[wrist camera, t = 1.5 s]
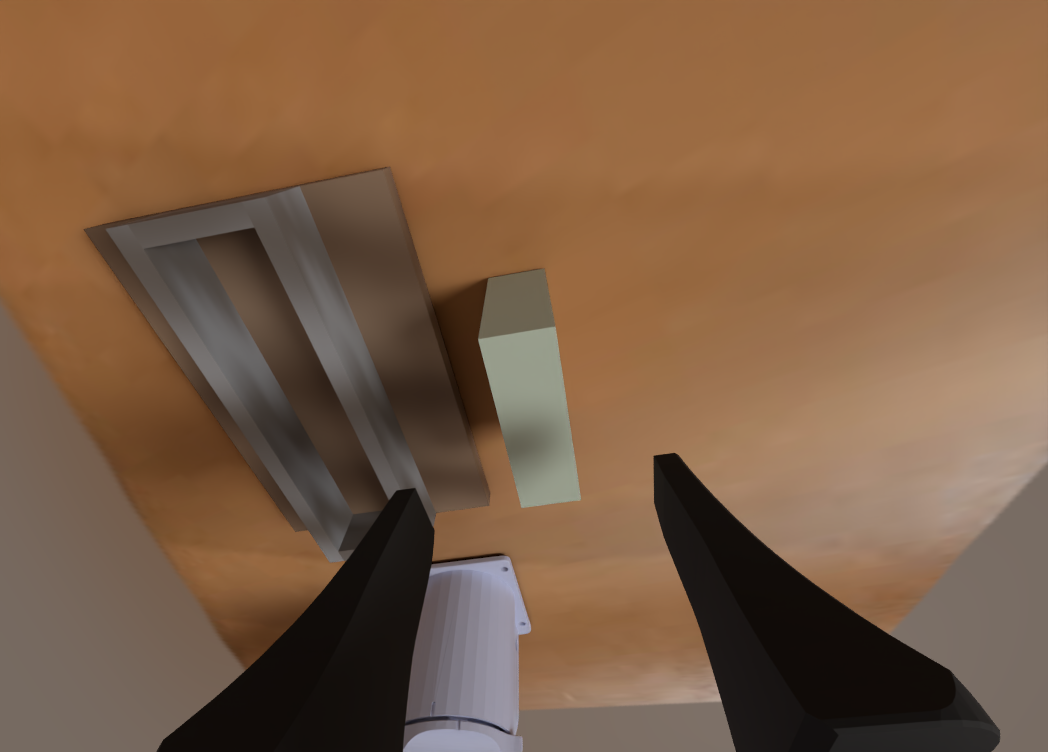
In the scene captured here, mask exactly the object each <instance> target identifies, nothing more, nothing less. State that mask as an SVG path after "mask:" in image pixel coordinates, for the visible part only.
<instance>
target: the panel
mask: <svg viewBox="0 0 1048 752" xmlns="http://www.w3.org/2000/svg"><path fill="white" fill-rule="evenodd" d="M478 341H479V345H480V349H481V352H482V356H483V360H484V364H485V368H486V372H487V376H488V379H489V383H490V387H491V391H492V395H493V399H494V403H495V407H496V410H497V414H498V418H499V422H500V426H501V430H502V434H503V438H504V441H505V445H506V449H507V453H508V457H509V461H510V465H511V468H512V472H513V476H514V480H515V484H516V488H517V492H518V496H519V499H520V503H521V507H522V508H525V507H532V506H539V505H547V504H554V503H562V502H569V501H577V500H581V496H580V489H579V483H578V476H577V469H576V462H575V456H574V449H573V442H572V435H571V429H570V422H569V415H568V409H567V402H566V395H565V388H564V382H563V375H562V368H561V361H560V355H559V348H558V341H557V335H556V328H555V322H554V317H553V312H552V306H551V301H550V296H549V291H548V285H547V280H546V275H545V270H544V269H538V270H532V271H527V272H521V273H515V274H510V275H504V276H498V277H493V278H488V283H487V289H486V295H485V301H484V307H483V313H482V319H481V325H480V331H479V337H478Z"/></svg>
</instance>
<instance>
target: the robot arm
mask: <svg viewBox="0 0 1048 752" xmlns="http://www.w3.org/2000/svg"><path fill="white" fill-rule="evenodd" d="M654 504H655V508H656V511H657V515H658V519H659V522H660V526H661V529H662V533H663V536H664V539H665V541H666V544H667V546H668V549H669V551H670V554H671V556H672V559H673V561H674V564H675V566H676V569H677V571H678V574H679V576H680V579H681V581H682V584H683V586H684V589H685V591H686V593H687V596H688V598H689V601H690V603H691V606H692V608H693V611H694V613H695V616H696V619H697V622H698V625H699V627H700V630H701V634H702V637H703V640H704V643H705V647H706V650H707V653H708V656H709V660H710V663H711V666H712V670H713V673H714V676H715V680H716V683H717V687H718V690H719V693H720V697H721V700H722V704H723V707H724V711H725V714H726V717H727V721H728V724H729V728H730V732H731V735H732V739H733V743H734V746H735V749H736V752H991V751H992V750H994V749H995V747H996V746H997V745H998V744H999V742H1000V730H999V729H998V727H997V726H996V725H995V723H994V722H993V721H992V720H991V718H990V717H989V716H988V715H987V713H986V712H985V711H984V709H983V708H982V707H981V705H980V704H979V703H978V702H977V700H976V699H975V698H974V697H973V696H972V694H971V693H970V692H969V691H968V690H967V689H966V688H965V687H964V685H963V684H962V683H961V682H960V681H959V680H958V679H957V678H956V677H955V676H954V674H953V673H952V672H951V671H950V670H949V669H947V668H945V667H943V666H942V665H940V664H938V663H937V662H935V661H933V660H931V659H930V658H928V657H926V656H924V655H923V654H921V653H919V652H918V651H916V650H914V649H913V648H911V647H909V646H907V645H906V644H904V643H902V642H901V641H899V640H897V639H896V638H894V637H892V636H891V635H889V634H888V633H886V632H884V631H883V630H881V629H880V628H878V627H877V626H875V625H874V624H872V623H870V622H869V621H867V620H866V619H864V618H863V617H861V616H860V615H858V614H857V613H855V612H854V611H852V610H851V609H849V608H848V607H847V606H845V605H844V604H842V603H841V602H839V601H838V600H837V599H835V598H834V597H832V596H831V595H829V594H828V593H827V592H825V591H824V590H822V589H821V588H819V587H818V586H817V585H815V584H814V583H812V582H811V581H810V580H808V579H807V578H806V577H805V576H803V575H802V574H801V573H799V572H798V571H797V570H795V569H794V568H793V567H792V566H790V565H789V564H788V563H787V562H785V561H784V560H783V559H782V558H780V557H779V556H778V555H777V554H775V553H774V552H773V551H772V550H771V549H770V548H768V547H767V546H766V545H765V544H764V543H763V542H761V541H760V540H759V539H758V538H757V537H756V536H755V535H754V534H752V533H751V532H750V531H749V530H748V529H747V528H746V527H745V526H744V525H743V524H742V523H741V522H739V521H738V520H737V519H736V518H735V517H734V516H733V515H732V514H731V513H730V512H729V511H728V510H727V509H726V508H725V507H724V506H723V505H722V504H721V503H720V502H719V501H718V500H717V499H716V498H715V497H714V496H713V494H712V493H711V492H710V491H709V490H708V489H707V488H706V487H705V486H704V485H703V484H702V482H701V481H700V480H699V479H698V478H697V477H696V476H695V475H694V473H693V472H692V471H691V470H690V469H689V468H688V466H687V465H686V464H685V463H684V462H683V460H682V459H681V458H680V457H679V455H677V454H676V453H670V454H663V455H655V456H654ZM434 532H435V530H434V528H433V526H432V523H431V521H430V519H429V517H428V515H427V512H426V510H425V508H424V506H423V504H422V501H421V499H420V497H419V495H418V492H417V490H416V488H410V489H403V490H396V492H395V493H394V494H393V496H392V497H391V498H390V500H389V501H388V503H387V504H386V506H385V507H384V509H383V510H382V511H381V513H380V514H379V516H378V517H377V519H376V520H375V522H374V523H373V525H372V526H371V527H370V529H369V530H368V532H367V533H366V535H365V536H364V537H363V539H362V540H361V542H360V543H359V544H358V546H357V547H356V548H355V550H354V551H353V553H352V554H351V555H350V557H349V558H348V559H347V561H346V562H345V563H344V565H343V566H342V567H341V568H340V570H339V571H338V572H337V573H336V575H335V576H334V577H333V579H332V580H331V581H330V582H329V584H328V585H327V586H326V587H325V589H324V590H323V591H322V592H321V593H320V595H319V596H318V597H317V598H316V599H315V600H314V602H313V603H312V604H311V605H310V606H309V607H308V608H307V609H306V611H305V612H304V613H303V614H302V615H301V616H300V617H299V618H298V619H297V620H296V621H295V623H294V624H293V625H292V626H291V627H290V628H289V629H288V630H287V631H286V632H285V633H284V634H283V635H282V636H281V637H280V638H279V639H278V640H277V641H276V642H275V643H274V644H273V645H272V646H271V647H270V648H269V649H268V650H267V651H266V652H265V653H264V654H263V655H262V656H261V657H260V658H259V659H258V660H256V661H255V662H254V663H253V664H252V665H251V666H250V667H249V668H248V669H247V670H246V671H245V672H244V673H242V674H241V675H240V676H239V677H238V678H237V679H236V680H235V681H234V682H233V683H231V684H230V685H229V686H228V687H227V688H226V689H225V690H223V691H222V692H221V693H220V694H219V695H218V696H217V697H215V698H214V699H213V700H212V701H211V702H209V703H208V704H207V705H206V706H204V707H203V708H202V709H201V710H200V711H198V712H197V713H196V714H195V715H194V716H192V717H191V718H190V719H189V720H187V721H186V722H185V723H184V724H182V725H181V726H180V727H179V728H178V729H176V730H175V731H174V732H173V733H171V734H170V735H169V736H168V737H166V738H165V739H164V740H163V741H162V743H161V745H160V746H159V748H158V750H157V752H523V751H522V736H517V735H515V734H516V731H517V727H518V720H519V640H518V635H519V634H527V633H529V632H530V631H531V625H530V621H529V618H528V615H527V612H526V608H525V605H524V602H523V599H522V595H521V592H520V589H519V586H518V582H517V579H516V576H515V573H514V569H513V566H512V563H511V560H510V558H509V557H507V556H495V557H486V558H478V559H470V560H462V561H454V562H446V563H438V564H432V556H433V546H434Z"/></svg>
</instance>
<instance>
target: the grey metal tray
mask: <svg viewBox="0 0 1048 752" xmlns="http://www.w3.org/2000/svg"><path fill="white" fill-rule="evenodd" d="M84 231H85V232H86V234H87V235H88V236H89V238H90V239H91V241H92V242H93V244H94V245H95V246H96V248H97V249H98V251H99V252H100V254H101V255H102V256H103V258H104V259H105V261H106V262H107V263H108V265H109V266H110V268H111V269H112V271H113V272H114V273H115V275H116V276H117V278H118V279H119V281H120V282H121V283H122V285H123V286H124V288H125V289H126V291H127V292H128V293H129V295H130V296H131V298H132V299H133V301H134V302H135V303H136V305H137V306H138V308H139V309H140V311H141V312H142V313H143V315H144V316H145V318H146V319H147V321H148V322H149V323H150V325H151V326H152V328H153V329H154V331H155V332H156V333H157V335H158V336H159V338H160V339H161V341H162V342H163V343H164V345H165V346H166V348H167V349H168V351H169V352H170V353H171V355H172V356H173V358H174V359H175V361H176V362H177V363H178V365H179V366H180V368H181V369H182V371H183V372H184V373H185V375H186V376H187V378H188V379H189V381H190V382H191V383H192V385H193V386H194V388H195V389H196V391H197V392H198V393H199V395H200V396H201V398H202V399H203V401H204V402H205V403H206V405H207V406H208V408H209V409H210V411H211V412H212V413H213V415H214V416H215V418H216V419H217V421H218V422H219V423H220V425H221V426H222V428H223V429H224V431H225V432H226V433H227V435H228V436H229V438H230V439H231V441H232V442H233V443H234V445H235V446H236V448H237V449H238V451H239V452H240V453H241V455H242V456H243V458H244V459H245V461H246V462H247V463H248V465H249V466H250V468H251V469H252V471H253V472H254V473H255V475H256V476H257V478H258V479H259V481H260V482H261V483H262V485H263V486H264V488H265V489H266V491H267V492H268V493H269V495H270V496H271V498H272V499H273V501H274V502H275V503H276V505H277V506H278V508H279V509H280V511H281V512H282V513H283V515H284V516H285V518H286V519H287V521H288V522H289V523H290V525H291V526H292V528H293V529H294V531H295V532H297V531H305V530H308V531H309V532H310V534H311V535H312V536H313V538H314V539H315V541H316V542H317V544H318V545H319V547H320V548H321V550H322V551H323V553H324V554H325V556H326V557H327V559H328V560H329V562H338V561H346V560H347V559H348V558H349V557H350V555H351V554H352V553H353V551H354V550H355V548H356V547H357V546H358V544H359V543H360V542H361V540H362V539H363V537H364V536H365V535H366V533H367V532H368V530H369V529H370V527H371V526H372V525H373V523H374V522H375V520H376V519H377V517H378V516H379V514H380V513H381V511H382V510H383V509H384V507H385V506H386V504H387V503H388V501H389V500H390V498H391V497H392V496H393V494H394V493H395V492H396V490H403V489H410V488H416V490H417V492H418V495H419V497H420V499H421V501H422V504H423V506H424V508H425V510H426V512H427V515H428V517H429V519H430V521H431V523H432V526H434V521H435V516H436V513H439V512H446V511H454V510H461V509H469V508H476V507H484V506H489V502H490V491H489V488H488V484H487V481H486V478H485V475H484V471H483V468H482V465H481V462H480V458H479V455H478V452H477V449H476V445H475V442H474V439H473V436H472V432H471V429H470V426H469V423H468V419H467V416H466V413H465V410H464V406H463V403H462V400H461V396H460V393H459V390H458V387H457V383H456V380H455V377H454V374H453V370H452V367H451V364H450V361H449V357H448V354H447V351H446V348H445V344H444V341H443V338H442V335H441V331H440V328H439V325H438V322H437V318H436V315H435V312H434V309H433V305H432V302H431V299H430V296H429V292H428V289H427V286H426V283H425V279H424V276H423V273H422V270H421V266H420V263H419V260H418V257H417V253H416V250H415V247H414V244H413V240H412V237H411V234H410V231H409V227H408V224H407V221H406V218H405V214H404V211H403V208H402V205H401V201H400V198H399V195H398V192H397V188H396V185H395V182H394V179H393V175H392V172H391V169H390V167H385V168H380V169H375V170H371V171H366V172H361V173H356V174H351V175H346V176H341V177H336V178H331V179H326V180H321V181H316V182H311V183H306V184H301V185H296V186H291V187H286V188H281V189H276V190H271V191H266V192H261V193H256V194H251V195H246V196H241V197H236V198H231V199H226V200H221V201H216V202H211V203H206V204H201V205H196V206H191V207H186V208H181V209H176V210H171V211H166V212H161V213H156V214H151V215H146V216H141V217H136V218H131V219H126V220H121V221H116V222H111V223H106V224H102V225H98V226H95V227H91V228H87V229H84Z"/></svg>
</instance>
